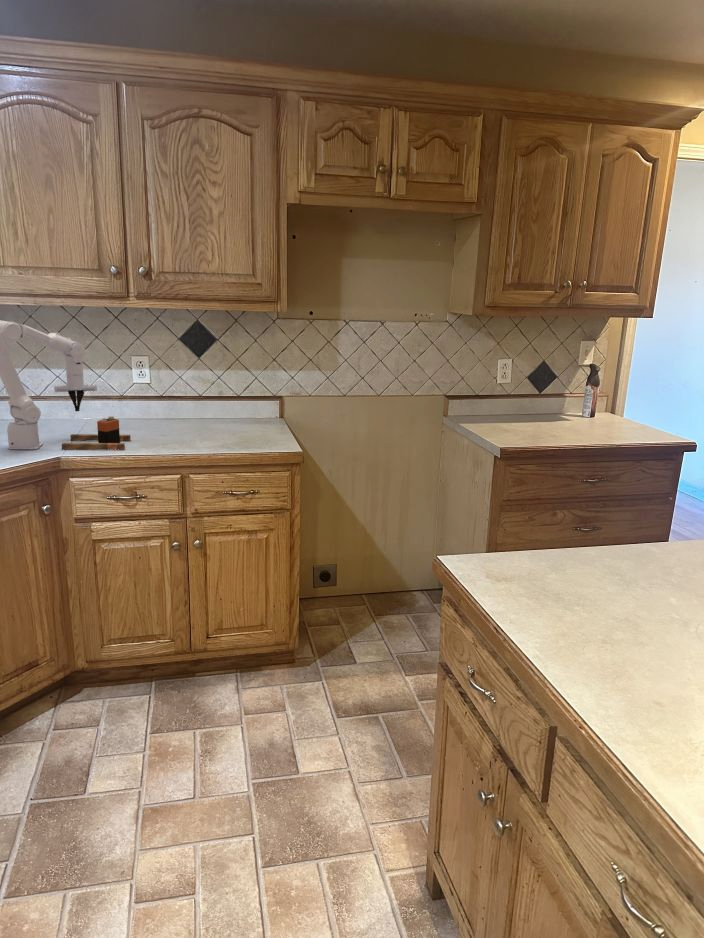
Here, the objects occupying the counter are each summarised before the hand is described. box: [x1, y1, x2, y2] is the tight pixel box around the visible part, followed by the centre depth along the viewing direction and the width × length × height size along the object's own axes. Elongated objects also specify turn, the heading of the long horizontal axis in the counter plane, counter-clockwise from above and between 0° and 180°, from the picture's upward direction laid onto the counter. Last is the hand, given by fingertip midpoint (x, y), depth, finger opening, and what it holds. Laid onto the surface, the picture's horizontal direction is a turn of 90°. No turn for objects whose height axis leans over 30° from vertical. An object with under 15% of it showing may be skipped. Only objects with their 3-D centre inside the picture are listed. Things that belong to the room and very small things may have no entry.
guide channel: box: [61, 433, 131, 451], centre depth 246 cm, size 21×15×2 cm
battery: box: [96, 415, 121, 443], centre depth 247 cm, size 4×7×10 cm, turn 155°
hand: (77, 410), depth 252 cm, fingers closed
